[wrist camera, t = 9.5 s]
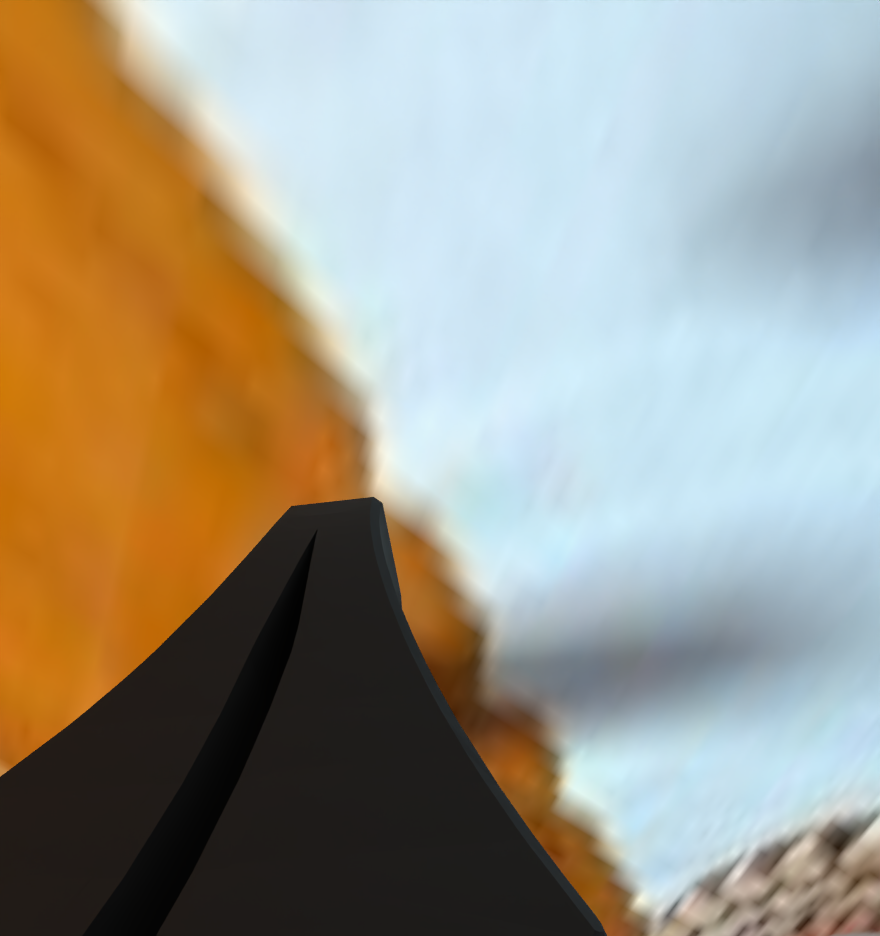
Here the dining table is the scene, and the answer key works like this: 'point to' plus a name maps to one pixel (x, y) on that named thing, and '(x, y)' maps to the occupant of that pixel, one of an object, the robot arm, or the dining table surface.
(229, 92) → the dining table surface
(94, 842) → the robot arm
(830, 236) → the dining table surface
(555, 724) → the dining table surface
